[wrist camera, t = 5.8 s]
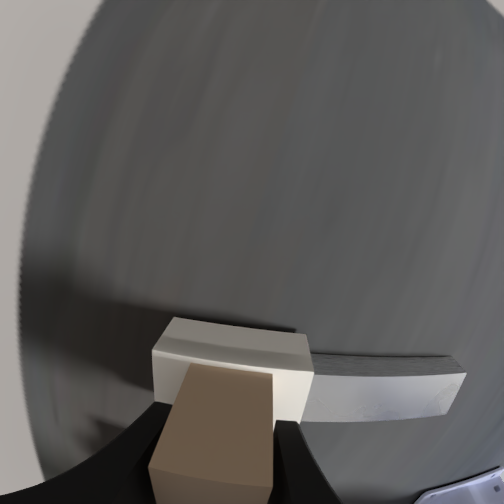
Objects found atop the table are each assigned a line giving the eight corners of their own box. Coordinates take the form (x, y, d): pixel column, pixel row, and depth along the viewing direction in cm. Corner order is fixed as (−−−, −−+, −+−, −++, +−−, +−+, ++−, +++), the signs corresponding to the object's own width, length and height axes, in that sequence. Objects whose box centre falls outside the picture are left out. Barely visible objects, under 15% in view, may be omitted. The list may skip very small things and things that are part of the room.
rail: (452, 356, 11) (466, 372, 10) (434, 396, 12) (445, 414, 11) (164, 333, 12) (152, 352, 10) (165, 379, 12) (154, 400, 11)
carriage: (305, 334, 11) (336, 482, 5) (286, 417, 12) (291, 549, 6) (173, 316, 11) (91, 443, 5) (174, 402, 12) (126, 523, 6)
